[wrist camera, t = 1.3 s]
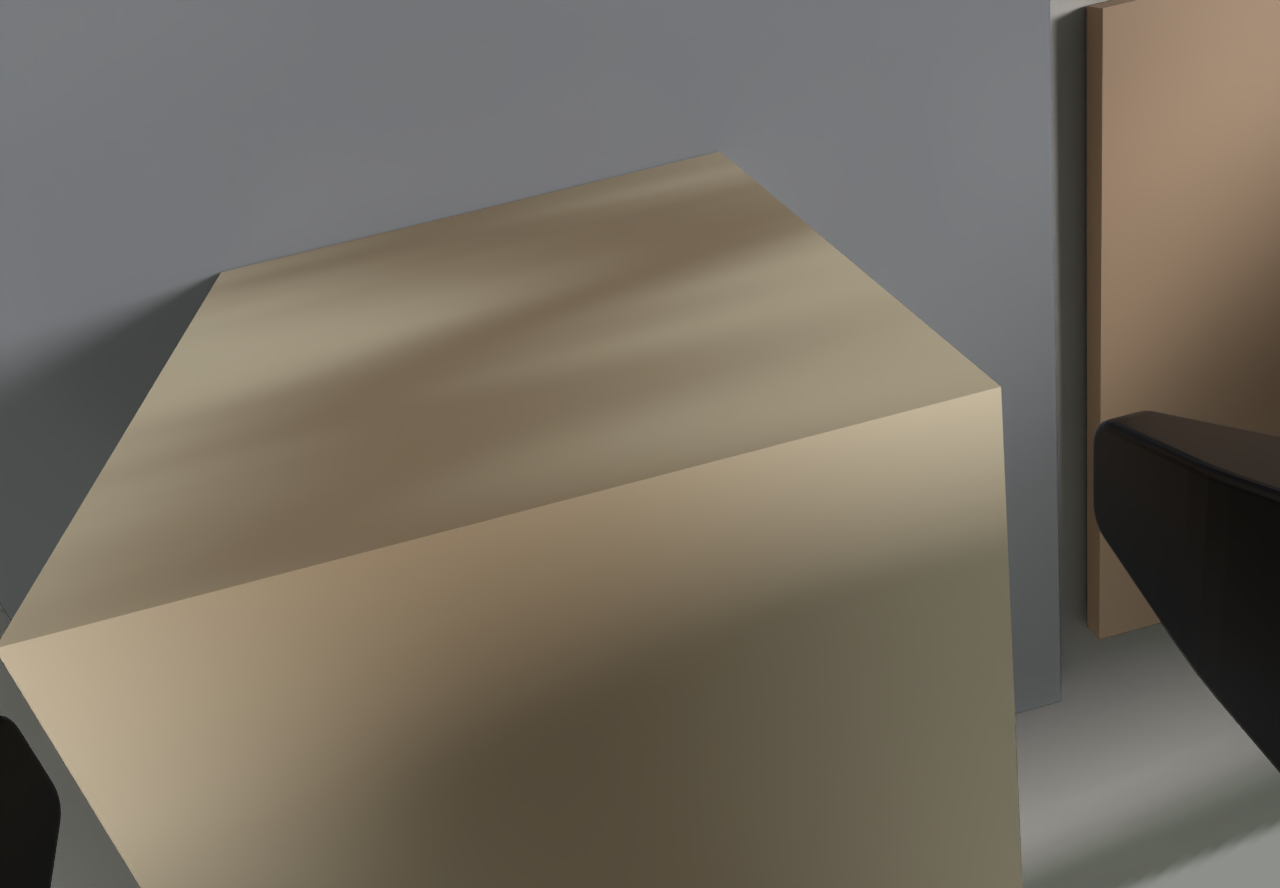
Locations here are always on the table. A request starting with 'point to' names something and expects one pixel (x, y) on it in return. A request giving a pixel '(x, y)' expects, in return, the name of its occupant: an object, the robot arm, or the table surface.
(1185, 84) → the pad
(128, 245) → the tile
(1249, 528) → the robot arm
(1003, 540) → the birch block
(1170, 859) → the table surface
